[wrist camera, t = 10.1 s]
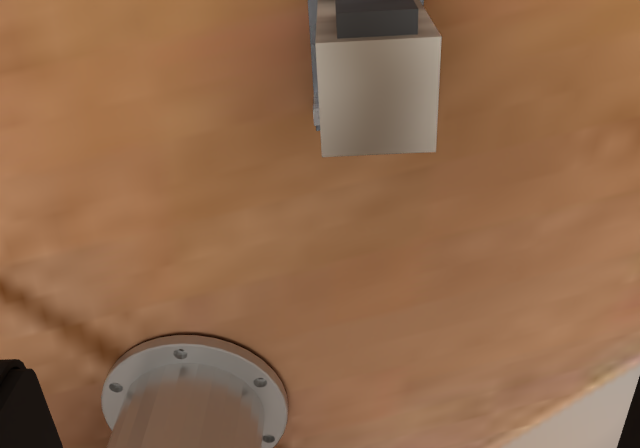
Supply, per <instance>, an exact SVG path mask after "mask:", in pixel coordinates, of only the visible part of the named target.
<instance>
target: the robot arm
mask: <svg viewBox="0 0 640 448" xmlns="http://www.w3.org/2000/svg"><path fill="white" fill-rule="evenodd" d="M101 405H102V411H103V414H104V417H105V420H106V422H107V424H108V425H109V427H110V429H111V430H112V433H111V436H110V439H109V442H108V444H107V447H106V448H273V447H274V446H275V445H276V444H277V443H278V442H279V440H280V438H281V437H282V435H283V434H284V431H285V427H286V424H287V417H288V400H287V394H286V391H285V389H284V386H283V384H282V382H281V380H280V379H279V377H278V376H277V375H276V373H275V372H274V370H273V369H271V368H270V367H269V366H268V365H267V364H266V363H265V362H264V361H263V360H262V359H260V358H259V357H257V356H256V355H254V354H253V353H251V352H250V351H248V350H246V349H244V348H242V347H240V346H237V345H235V344H233V343H230V342H227V341H223V340H220V339H216V338H212V337H205V336H197V335H174V336H168V337H161V338H157V339H153V340H150V341H147V342H144V343H142V344H140V345H138V346H136V347H134V348H132V349H130V350H129V351H127V352H126V353H125V354H124V355H123V356H121V357H120V358H119V359H118V360H117V361H116V363H115V364H114V365H113V367H112V368H111V370H110V371H109V374H108V376H107V378H106V381H105V383H104V385H103V390H102V395H101ZM0 448H63V446H62V443H61V441H60V438H59V435H58V432H57V430H56V427H55V424H54V422H53V419H52V416H51V414H50V411H49V408H48V405H47V403H46V400H45V397H44V395H43V392H42V389H41V387H40V384H39V381H38V379H37V376H36V374H35V372H34V371H33V370H32V369H26V367H25V366H24V364H23V362H21V361H20V360H16V359H12V360H0ZM617 448H640V377H639V380H638V384H637V387H636V389H635V393H634V396H633V399H632V402H631V405H630V408H629V411H628V415H627V418H626V421H625V425H624V427H623V430H622V434H621V437H620V440H619V443H618V446H617Z"/></svg>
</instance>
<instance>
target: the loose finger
mask: <svg viewBox="0 0 640 448" xmlns="http://www.w3.org/2000/svg"><path fill="white" fill-rule="evenodd" d="M441 39H442V36H441V35H440V33H439V31H438V30H437V28H436V27H435V25H434V23H433V22H432V20H431V18H430V17H429V15H428V13H427V12H426V10H425V8H424V7H423V5H422V3H421V2H420V0H318V4H317V22H316V40H315V46H316V63H317V80H318V97H319V115H320V132H321V149H322V157H336V156H358V155H379V154H401V153H423V152H436V140H437V120H438V99H439V79H440V59H441Z"/></svg>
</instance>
